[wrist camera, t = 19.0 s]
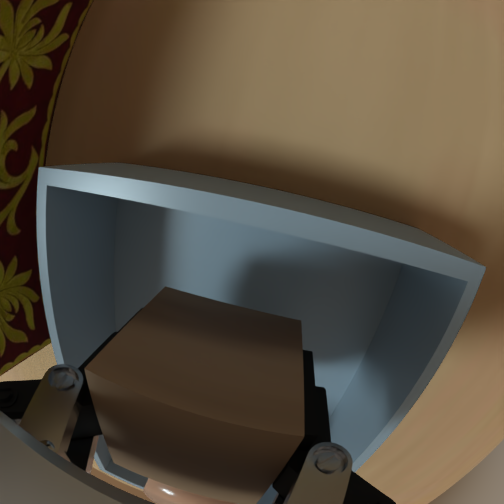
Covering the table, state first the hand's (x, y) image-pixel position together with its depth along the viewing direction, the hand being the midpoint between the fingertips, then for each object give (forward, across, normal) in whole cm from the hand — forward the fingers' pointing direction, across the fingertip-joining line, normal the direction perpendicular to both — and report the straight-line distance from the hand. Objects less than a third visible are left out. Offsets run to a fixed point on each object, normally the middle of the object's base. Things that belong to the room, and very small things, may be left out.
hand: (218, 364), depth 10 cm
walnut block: (+1, 0, 0) cm, 1 cm away
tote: (+4, 0, +4) cm, 6 cm away
